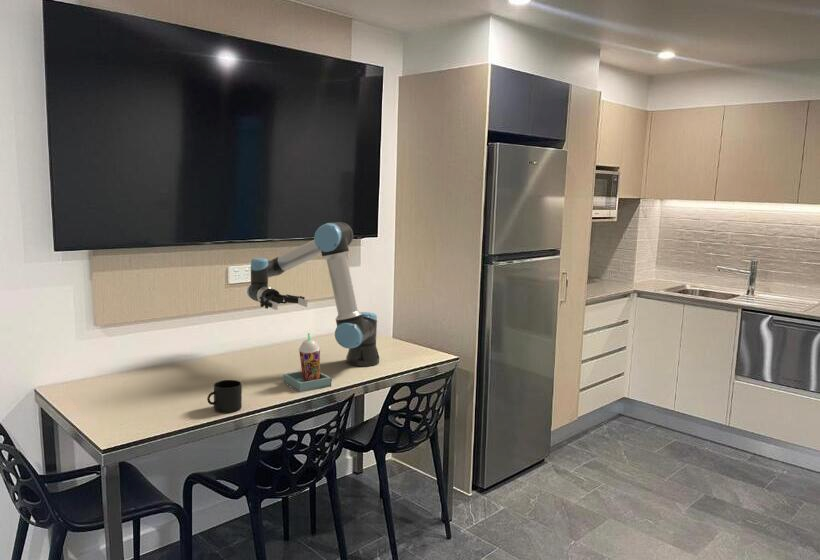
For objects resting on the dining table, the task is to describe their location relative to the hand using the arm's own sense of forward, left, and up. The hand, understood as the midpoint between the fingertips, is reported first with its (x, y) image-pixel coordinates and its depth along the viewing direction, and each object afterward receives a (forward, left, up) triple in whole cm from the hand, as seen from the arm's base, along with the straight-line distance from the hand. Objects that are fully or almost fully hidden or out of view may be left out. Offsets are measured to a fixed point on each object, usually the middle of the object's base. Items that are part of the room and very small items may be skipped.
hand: (291, 305), depth 256 cm
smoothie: (-2, +13, -29) cm, 32 cm away
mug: (+38, +23, -30) cm, 54 cm away
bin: (0, +14, -30) cm, 33 cm away
